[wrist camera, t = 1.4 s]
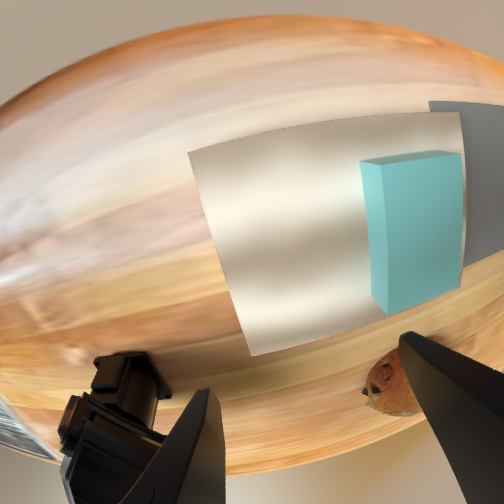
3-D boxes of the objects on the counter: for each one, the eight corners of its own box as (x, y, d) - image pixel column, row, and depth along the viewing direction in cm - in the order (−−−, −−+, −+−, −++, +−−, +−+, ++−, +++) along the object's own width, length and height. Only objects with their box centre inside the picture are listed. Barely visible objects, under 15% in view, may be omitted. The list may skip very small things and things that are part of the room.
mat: (512, 242, 22) (514, 243, 22) (437, 275, 23) (439, 277, 22) (510, 107, 16) (512, 107, 16) (428, 101, 17) (430, 101, 16)
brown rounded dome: (397, 373, 33) (438, 401, 26) (347, 411, 28) (392, 450, 22) (418, 316, 29) (469, 345, 22) (366, 353, 24) (428, 396, 18)
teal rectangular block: (437, 272, 18) (456, 287, 15) (371, 295, 18) (387, 315, 16) (435, 149, 14) (460, 153, 12) (358, 160, 14) (380, 165, 12)
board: (434, 268, 22) (460, 287, 19) (248, 323, 23) (251, 356, 19) (426, 112, 17) (459, 112, 13) (196, 150, 17) (187, 152, 14)
